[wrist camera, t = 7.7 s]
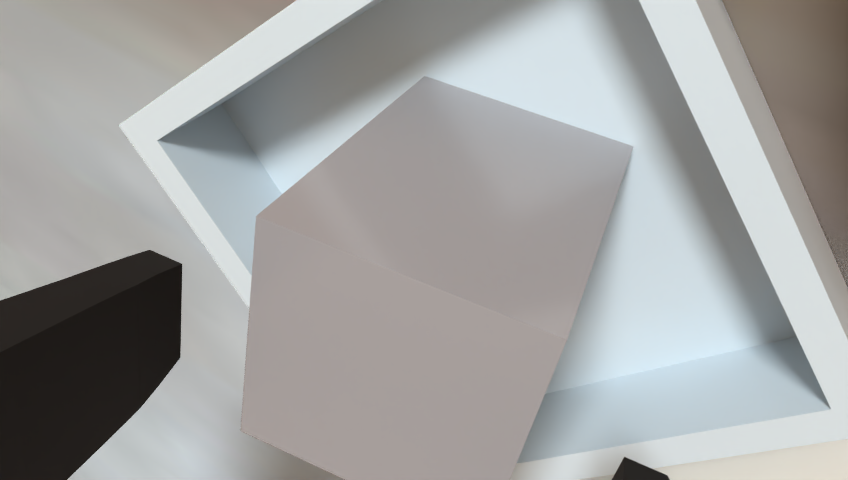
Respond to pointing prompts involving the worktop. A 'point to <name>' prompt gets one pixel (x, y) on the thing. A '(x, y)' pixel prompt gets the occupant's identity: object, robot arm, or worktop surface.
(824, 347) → the bin
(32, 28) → the worktop surface
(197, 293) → the worktop surface
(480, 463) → the stone block
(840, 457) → the bin
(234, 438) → the worktop surface
